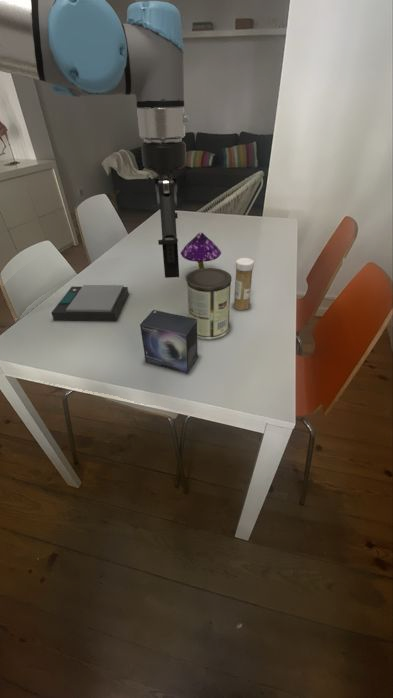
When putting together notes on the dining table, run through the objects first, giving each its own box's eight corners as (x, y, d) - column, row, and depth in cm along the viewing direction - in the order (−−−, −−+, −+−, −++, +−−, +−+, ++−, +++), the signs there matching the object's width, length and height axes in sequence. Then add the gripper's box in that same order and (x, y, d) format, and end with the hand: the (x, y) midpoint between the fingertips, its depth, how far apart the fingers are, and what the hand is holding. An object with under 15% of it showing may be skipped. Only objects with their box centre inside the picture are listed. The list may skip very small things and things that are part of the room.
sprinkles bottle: (250, 310, 87) (255, 263, 79) (234, 311, 87) (237, 264, 79) (247, 302, 91) (252, 256, 83) (232, 302, 91) (234, 257, 83)
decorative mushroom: (186, 270, 109) (185, 225, 100) (222, 272, 107) (224, 227, 98) (177, 286, 99) (174, 238, 90) (217, 289, 97) (218, 241, 88)
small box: (143, 363, 70) (137, 324, 64) (157, 346, 75) (152, 308, 69) (187, 375, 67) (185, 334, 61) (198, 356, 72) (198, 317, 65)
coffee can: (198, 314, 86) (197, 264, 78) (234, 322, 83) (237, 271, 74) (181, 334, 79) (178, 282, 70) (219, 344, 76) (221, 290, 67)
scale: (53, 320, 85) (50, 310, 83) (73, 293, 97) (70, 283, 95) (116, 321, 84) (114, 310, 82) (128, 294, 96) (127, 284, 94)
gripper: (191, 148, 43) (194, 289, 56) (181, 133, 63) (185, 240, 76) (135, 149, 43) (151, 291, 56) (143, 134, 62) (154, 242, 75)
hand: (171, 262), depth 66 cm, fingers open, 13 cm apart
